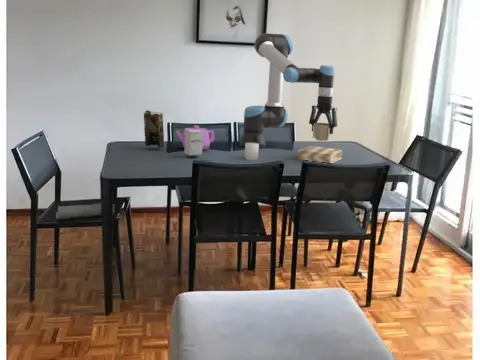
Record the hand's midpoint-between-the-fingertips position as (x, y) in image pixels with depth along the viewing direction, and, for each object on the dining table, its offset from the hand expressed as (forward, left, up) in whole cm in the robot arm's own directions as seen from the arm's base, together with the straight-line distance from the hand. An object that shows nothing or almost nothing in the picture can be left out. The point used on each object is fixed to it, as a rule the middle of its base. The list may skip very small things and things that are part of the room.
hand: (321, 138), depth 303 cm
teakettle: (-64, -29, -11) cm, 71 cm away
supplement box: (-51, -44, -11) cm, 68 cm away
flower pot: (0, 0, -1) cm, 1 cm away
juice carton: (-79, -46, -11) cm, 92 cm away
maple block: (0, 0, -11) cm, 11 cm away
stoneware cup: (-24, -29, -11) cm, 39 cm away
